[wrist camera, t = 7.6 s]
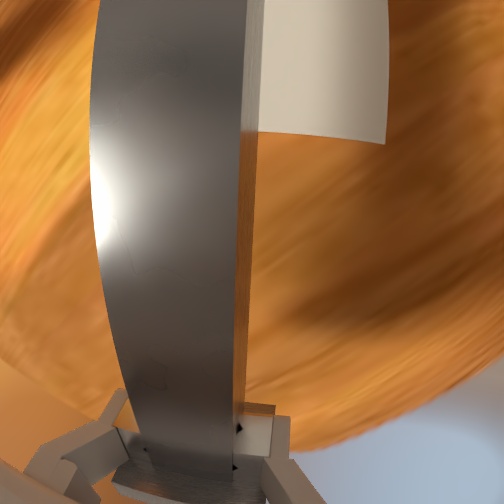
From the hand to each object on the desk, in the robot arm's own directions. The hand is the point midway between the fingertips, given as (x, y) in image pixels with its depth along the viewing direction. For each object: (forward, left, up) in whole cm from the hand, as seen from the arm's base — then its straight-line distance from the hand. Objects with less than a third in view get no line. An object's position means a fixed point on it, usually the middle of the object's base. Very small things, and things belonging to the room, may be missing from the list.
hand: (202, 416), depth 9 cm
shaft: (0, +11, -2) cm, 11 cm away
